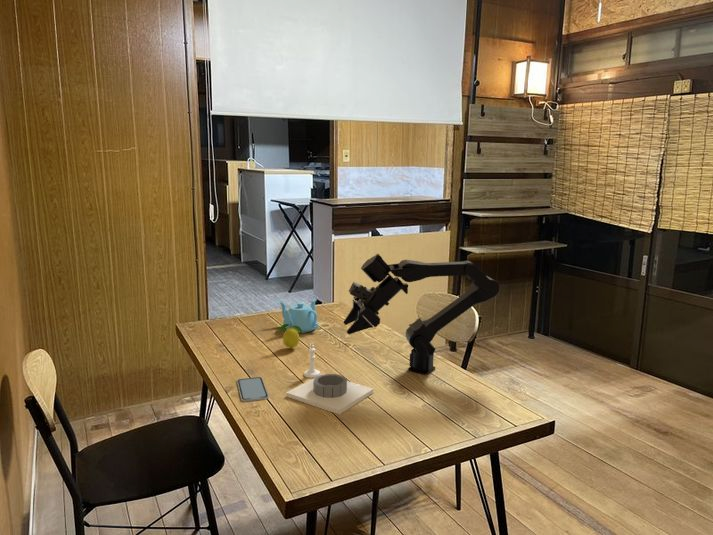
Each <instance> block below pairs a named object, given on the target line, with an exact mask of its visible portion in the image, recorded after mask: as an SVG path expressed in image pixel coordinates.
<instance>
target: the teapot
mask: <svg viewBox="0 0 713 535" xmlns="http://www.w3.org/2000/svg"><path fill="white" fill-rule="evenodd" d="M317 300H318V298H314V299H313V300H312V301H311V303H310V305H308V304H307V305H306V304H305V303H304V302H297V303H296V305H295V304H294V305H292V306H290V307H289V309H287V306H286V304H285V302H284V301H281V300H278V303H280V306H281V314H282V318H283V324H282V325H284V324H289V325H288V326H287V327H286V328H285V330H287V329H288V328H290V327H292V328H294V327H293V326H299V327H300V328H301V329H302V332H303V333H304V334H305V333H309V332H313V331H314V330H316V329H319V322H318V313H317V311H316V302H317ZM290 323H291V324H290ZM291 325H292V326H291ZM297 331H298V330H297ZM303 333H301V332H299V331H298V334H303Z"/></svg>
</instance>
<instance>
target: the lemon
mask: <svg viewBox="0 0 713 535" xmlns="http://www.w3.org/2000/svg"><path fill="white" fill-rule="evenodd" d="M290 324H291V323H290ZM288 325H289V324H284V325H283V324H282V325H281V326H280V328H278V333H280V332H281V331H283V330H284V329H285V331H284V333H283V336H282V341H283V344H284V346H285V347H286V348H289V350H293V349H294V348H295V347H297V346H298V344H299V343H300V334H303V332H302V329H301V328H300V327H299V326H293V327H294V328H292V327H290V328H288V329H286V327H287V326H288ZM291 326H292V325H291ZM297 330H298V331H299V332H301V333H298V331H297Z"/></svg>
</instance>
